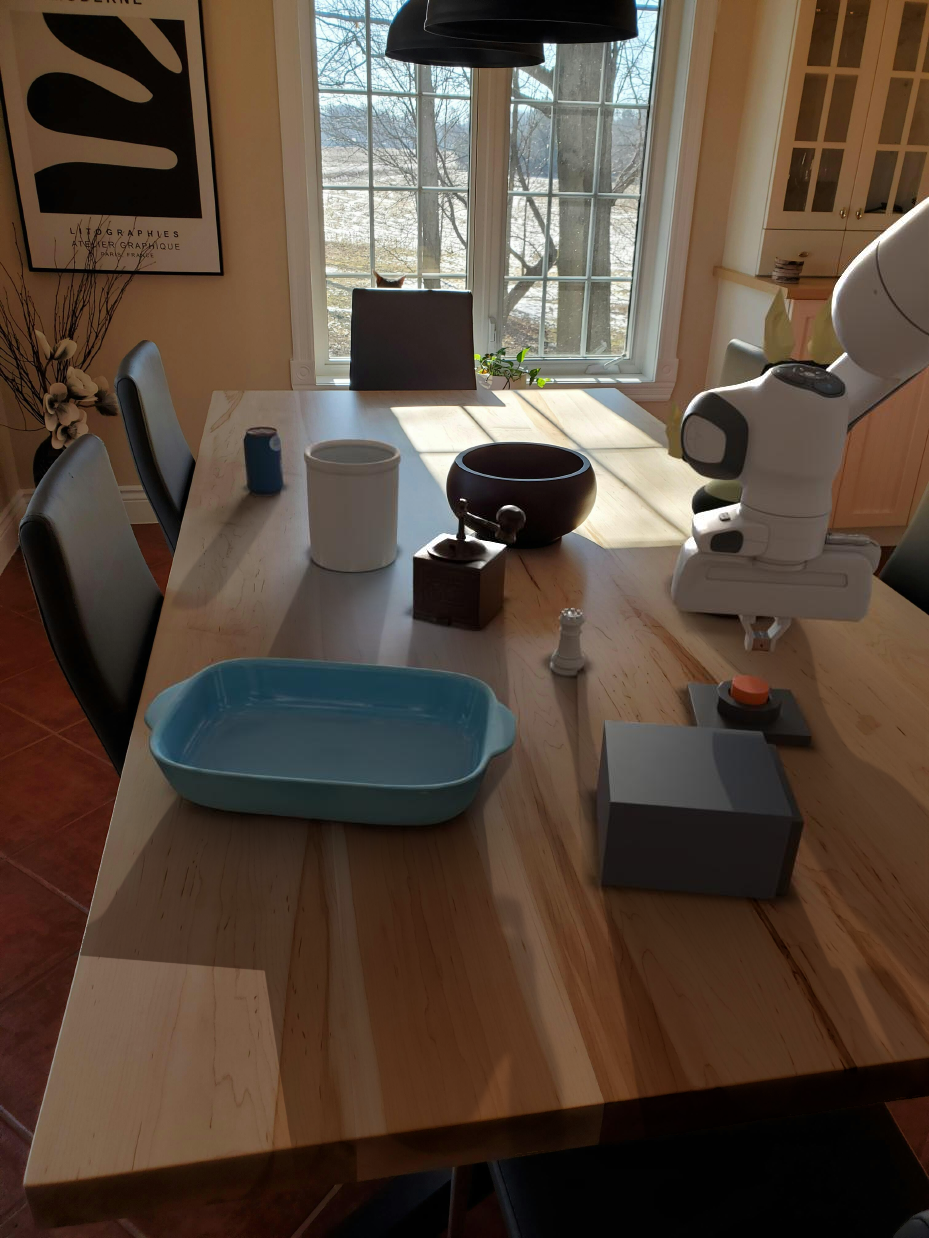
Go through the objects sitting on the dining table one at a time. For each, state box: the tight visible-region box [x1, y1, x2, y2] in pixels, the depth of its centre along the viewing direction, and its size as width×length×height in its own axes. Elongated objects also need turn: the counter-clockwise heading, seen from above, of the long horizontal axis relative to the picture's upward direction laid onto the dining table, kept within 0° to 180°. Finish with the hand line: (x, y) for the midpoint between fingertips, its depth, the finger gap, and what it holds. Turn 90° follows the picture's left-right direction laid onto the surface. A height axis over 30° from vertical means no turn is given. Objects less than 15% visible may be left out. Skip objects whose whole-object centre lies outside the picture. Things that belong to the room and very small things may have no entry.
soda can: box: [242, 426, 285, 497], centre depth 171 cm, size 7×7×12 cm
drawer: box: [767, 744, 805, 896], centre depth 80 cm, size 15×11×8 cm
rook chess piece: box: [549, 607, 586, 678], centre depth 111 cm, size 4×4×8 cm
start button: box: [730, 675, 771, 705], centre depth 101 cm, size 4×4×2 cm
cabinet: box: [595, 719, 793, 901], centre depth 81 cm, size 15×13×10 cm
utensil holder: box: [303, 438, 402, 573], centre depth 141 cm, size 15×15×18 cm
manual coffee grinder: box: [412, 498, 527, 631], centre depth 123 cm, size 16×11×18 cm
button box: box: [685, 679, 813, 748], centre depth 102 cm, size 12×10×4 cm
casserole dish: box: [143, 657, 517, 826], centre depth 91 cm, size 37×22×7 cm, turn 85°
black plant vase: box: [664, 286, 845, 619], centre depth 123 cm, size 19×22×45 cm
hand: (758, 649), depth 99 cm, fingers closed
